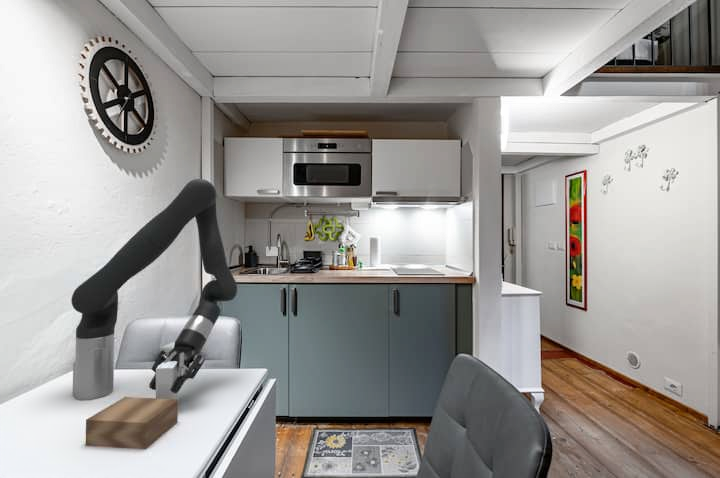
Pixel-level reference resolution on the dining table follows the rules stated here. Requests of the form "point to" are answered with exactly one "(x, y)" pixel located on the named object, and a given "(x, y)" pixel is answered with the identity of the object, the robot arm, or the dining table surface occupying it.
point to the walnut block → (132, 423)
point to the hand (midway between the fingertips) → (162, 390)
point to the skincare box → (166, 380)
